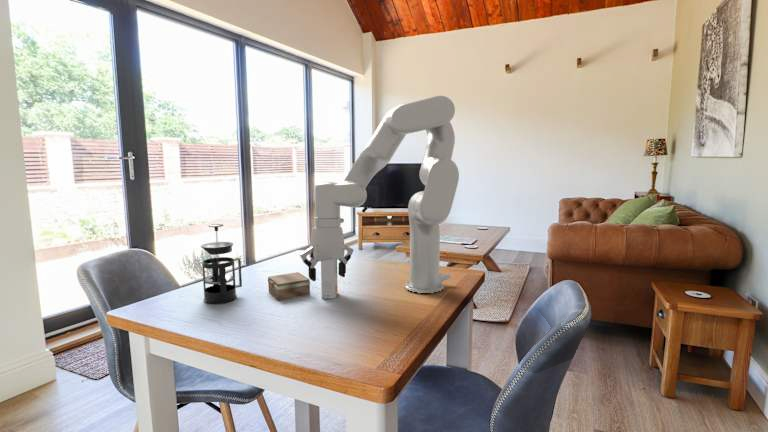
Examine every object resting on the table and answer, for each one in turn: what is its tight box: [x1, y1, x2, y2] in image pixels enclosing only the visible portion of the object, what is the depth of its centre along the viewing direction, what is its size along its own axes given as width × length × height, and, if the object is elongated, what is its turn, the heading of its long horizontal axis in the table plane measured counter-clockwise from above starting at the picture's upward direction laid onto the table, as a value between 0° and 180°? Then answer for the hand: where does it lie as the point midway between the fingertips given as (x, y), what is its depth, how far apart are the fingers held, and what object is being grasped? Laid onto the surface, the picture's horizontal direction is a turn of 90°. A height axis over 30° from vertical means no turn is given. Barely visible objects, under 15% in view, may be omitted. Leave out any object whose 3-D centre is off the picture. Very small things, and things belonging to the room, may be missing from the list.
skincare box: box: [320, 259, 338, 299], centre depth 131 cm, size 6×4×12 cm
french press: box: [200, 223, 243, 305], centre depth 128 cm, size 12×9×23 cm
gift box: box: [267, 271, 311, 301], centre depth 134 cm, size 11×10×5 cm
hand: (327, 278), depth 131 cm, fingers open, 9 cm apart
